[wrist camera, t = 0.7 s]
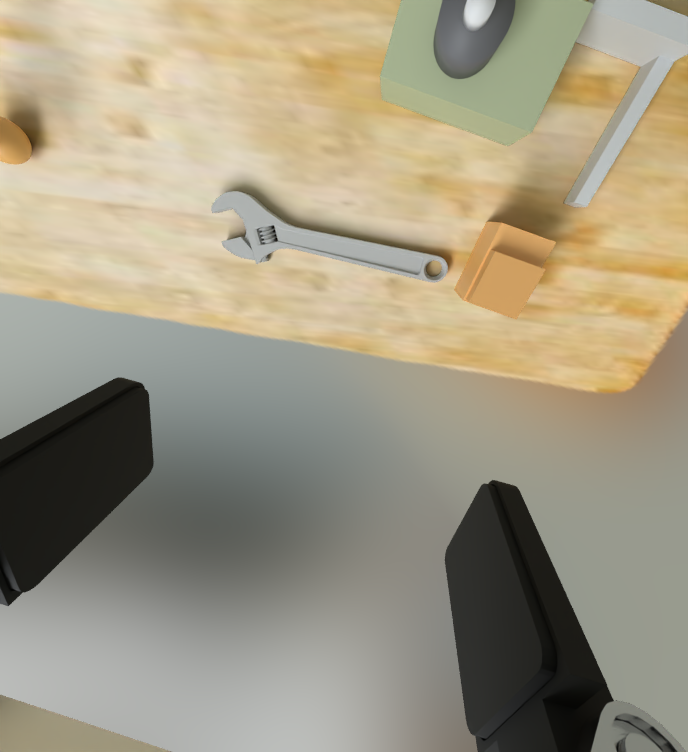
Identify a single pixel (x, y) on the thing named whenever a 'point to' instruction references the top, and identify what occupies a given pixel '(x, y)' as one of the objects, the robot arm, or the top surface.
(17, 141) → the figurine
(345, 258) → the adjustable wrench
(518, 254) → the stepped orange block
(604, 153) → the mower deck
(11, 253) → the top surface
